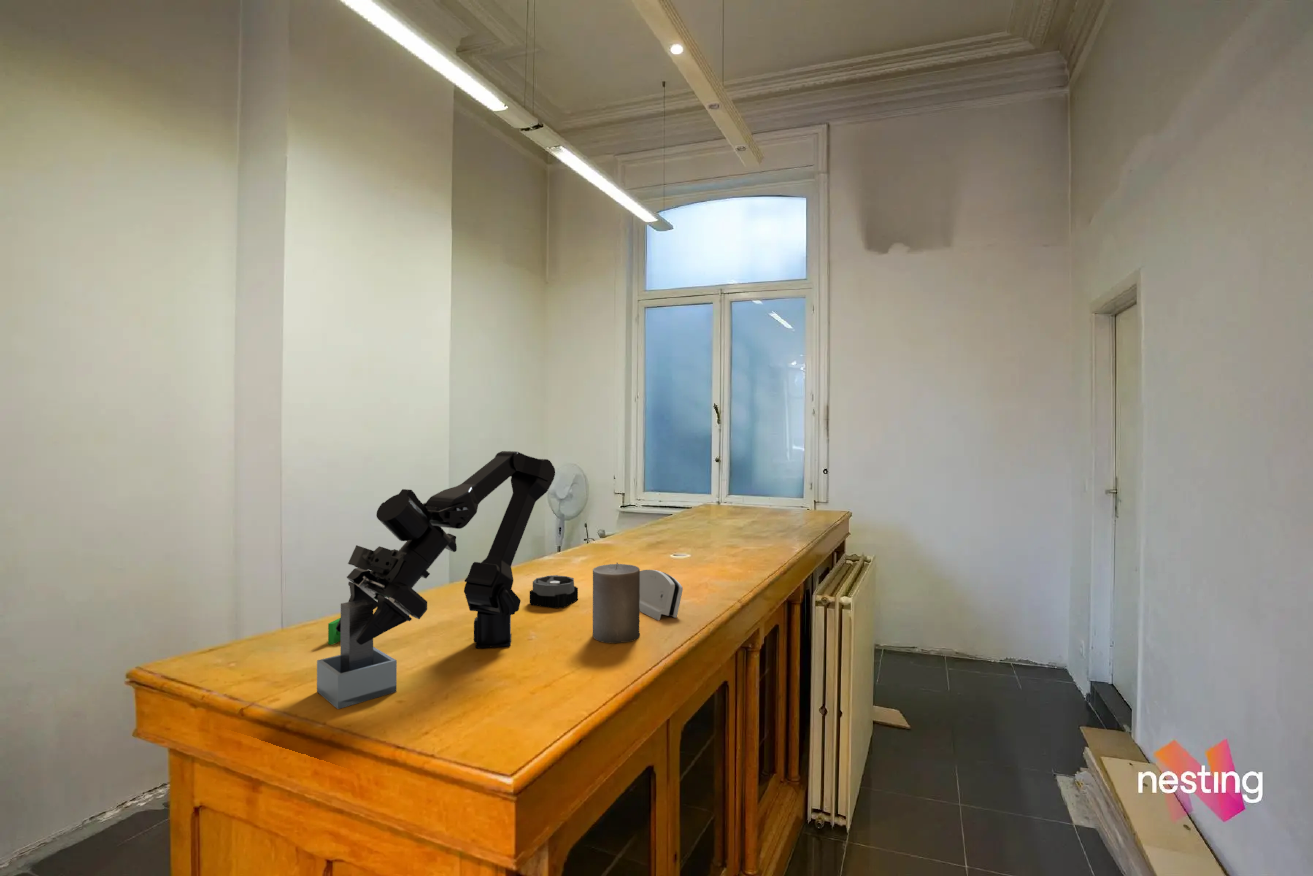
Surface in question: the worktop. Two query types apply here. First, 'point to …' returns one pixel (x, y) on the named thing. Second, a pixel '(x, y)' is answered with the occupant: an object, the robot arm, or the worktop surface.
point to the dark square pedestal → (355, 635)
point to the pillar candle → (616, 603)
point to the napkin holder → (659, 594)
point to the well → (356, 680)
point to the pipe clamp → (333, 632)
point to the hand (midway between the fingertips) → (347, 636)
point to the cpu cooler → (553, 591)
